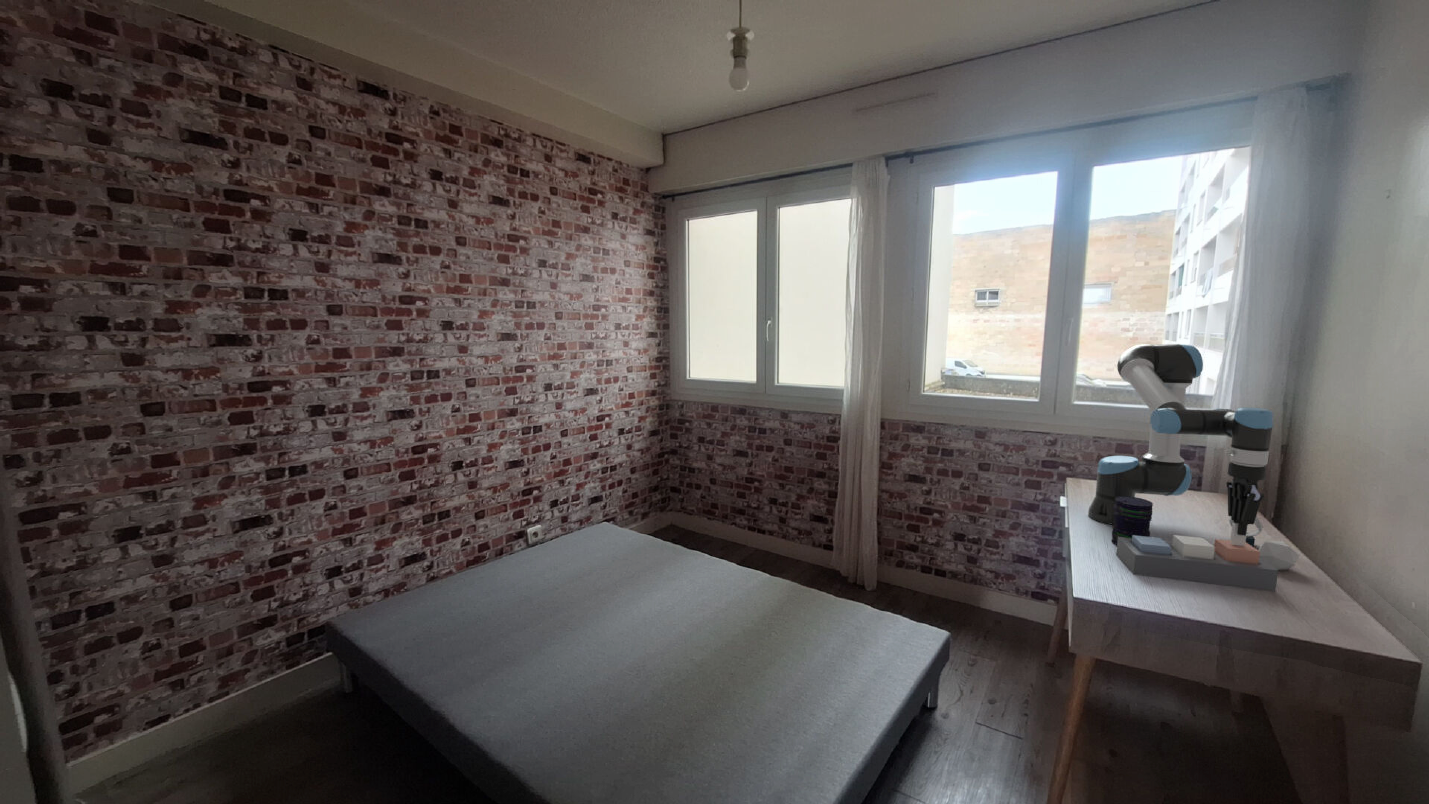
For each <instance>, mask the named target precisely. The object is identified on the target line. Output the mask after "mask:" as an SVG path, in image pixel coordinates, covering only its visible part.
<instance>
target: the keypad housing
mask: <svg viewBox="0 0 1429 804" xmlns="http://www.w3.org/2000/svg"><path fill="white" fill-rule="evenodd" d="M1165 542H1166V543H1167V544H1168V545H1169V546H1170V547H1171V551H1170V555H1168V554H1159V553H1150V552H1140V551H1139V550H1138V549H1137V548H1136V547H1135V546H1134V545H1133V544H1132V538H1125V537H1118V541H1117V545H1116V552H1115V553H1116V554H1115V555H1116V556H1117V558H1118V559H1119V560H1120V561H1121V562H1122V563H1123V565H1125V567H1126V568H1127V569H1128V570H1129V571H1130V572H1131V573H1132V575H1138V576H1146V577H1153V578H1161V579H1162V578H1163V579H1172V580H1179V581H1187V582H1195V583H1204V584H1210V585H1211V584H1213V585H1219V586H1220V585H1221V586H1228V587H1229V586H1230V587H1236V588H1246V589H1254V590H1262V591H1271V592H1276V589H1277V580H1278V576H1279V570H1277V569H1276V568H1274V567H1273V566H1271V565H1270V564H1268V563H1267V562H1265V561H1264V560H1262V559H1261V558H1259V564H1251V563H1242V562H1233V561H1225V560H1224V559H1223V558H1221V557H1220V556H1219V555H1217V554H1216V553H1215V552H1214V558H1213V559H1205V558H1196V557H1187V556H1181V555H1180V554H1179V553H1178V552H1176V551H1175V550H1174V549H1173V548H1172V541H1165Z"/></svg>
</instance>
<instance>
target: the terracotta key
mask: <svg viewBox="0 0 1429 804" xmlns="http://www.w3.org/2000/svg"><path fill="white" fill-rule="evenodd" d="M1213 546H1214V547H1215V550H1214V552H1215V553H1216V554H1217V555H1219V556H1220V557H1221V558H1223V559H1224V560H1225V561H1233V562H1242V563H1251V564H1259V557H1260V551H1258V550H1259V549H1257V548H1256V547H1255V546H1254V547H1252V546H1251V545H1249V544H1248V543H1246V542H1245V546H1239V545H1232V544H1231V543H1230V540H1226V539H1219V538H1218V539H1217V538H1215V539H1214V543H1213Z"/></svg>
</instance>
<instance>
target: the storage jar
mask: <svg viewBox="0 0 1429 804" xmlns="http://www.w3.org/2000/svg"><path fill="white" fill-rule="evenodd" d="M1115 501H1116V502H1115V506H1114V509H1115V510H1114V515H1115V519H1114V525H1113V524H1112V530H1111V543H1112V544H1113V545H1115V546H1117V541H1118V537H1125V538H1132V535H1135V536H1145V537H1151V536H1150V535H1151V531H1150V525H1151V521H1152V519H1153V518H1152V517H1153V506H1154V503H1153V502H1152V501H1150V500H1148V499H1145V498H1142V497H1141V498H1140V497H1136V496H1135V497H1129V496H1119V497H1116V499H1115Z"/></svg>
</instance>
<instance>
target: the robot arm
mask: <svg viewBox="0 0 1429 804" xmlns="http://www.w3.org/2000/svg"><path fill="white" fill-rule="evenodd" d="M1116 368H1117V372H1118V374H1119V376H1120V377H1121V379H1122V380H1123V381H1124V382H1127V383H1129V384H1130V385H1131V386H1132V387H1133V390H1134V391H1136V393H1137V394H1138V396H1139V397H1140V398H1141V399H1142V401H1143V403H1144V404H1145V406H1147V408H1148V409H1149V410H1150V411H1151V415H1150V417H1149V418H1150V420H1149V422H1150V423H1149V424H1150V430H1149V440H1148V441H1149V442H1148V452H1146V453H1145V454H1144V455H1142V461H1139V459H1138V458H1137V457H1134V456H1131V455H1130V456H1129V455H1128V456H1126V455H1111V456H1105V457H1103V458H1101V459H1100V460H1099V461H1098V466H1097V469H1096V471H1097V475H1096V485H1095V486H1096V488H1095V497H1094V498H1093V500H1092V502H1091V504H1090V506H1089V507H1088V511H1087V516H1088V517H1089V518H1091V519H1093V520H1095V521H1097V522H1101V523H1103V524H1108V525H1109V524H1110V525H1112V526H1113V525H1114V519H1115V515H1114V510H1115V509H1114V506H1115V502H1116V501H1115V499H1116V497H1119V496H1129V497H1136V494H1143V495H1158V496H1165V497H1169V496H1181V495H1183V494H1185V493H1186V492H1187V491H1188V489H1189V488H1190V486H1191V483H1192V470H1191V468H1190V467H1189V465H1188V464H1186V463H1185V459H1184V458H1183V457H1182V456H1181V455H1180V452H1181V451H1180V450H1181V441H1182V435H1192V436H1193V435H1194V436H1197V435H1199V436H1217V437H1218V436H1219V437H1229V438H1231V444H1230V450H1229V451H1228V454H1229V461H1230V462H1228V466H1227V467H1228V469H1227V475H1228V476H1229V477H1232V481H1227V482H1226V488H1227V489H1226V490H1227V515H1228V517H1230V516H1231V519H1232V520H1233V522H1232V526H1231V531H1230V538H1229V539H1230V540H1229V541H1230V543H1231V544H1232V545H1239V546H1245V542H1246V534H1247V533H1248V532H1247V531H1248V526H1249V525H1255V523H1254V522H1255V518H1256V516H1258V511H1259V507H1260V506H1261V502H1262V501H1263V499H1264V498H1265V497H1264V496H1265V495H1264V494H1263V493H1259V491H1258V490H1259V483H1258V482H1259V481H1264V480H1265V479H1266V475H1267V466H1266V465H1268V463H1269V462H1268V461H1269V454H1270V450H1269V449H1270V446H1271V444H1270V443H1271V437H1272V434H1273V433H1272V431H1273V427H1274V422H1273V419H1274V414H1273V411H1272V410H1270V409H1265V408H1260V407H1259V408H1258V407H1238V408H1236V410H1232V409H1230V408H1216V409H1191V408H1187V407H1185V401H1186V393H1187V392H1186V391H1187V390H1186V389H1187V388H1188V387H1190V386H1191V385H1193V380H1194V379H1196V378H1199V377H1200V376H1201V373H1202V372H1203V369H1204V360H1203V357H1202V354H1201V352H1200V351H1199V349H1198V348H1197V347H1196V346H1194V345H1191V344H1181V343H1176V344H1172V343H1171V344H1169V343H1168V344H1147V343H1145V344H1137V345H1135V346H1132V347H1130V348H1129V349H1126V350H1125V351H1124V352H1123V353H1122V355H1120V357H1119V358H1118V361H1117V365H1116Z"/></svg>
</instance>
